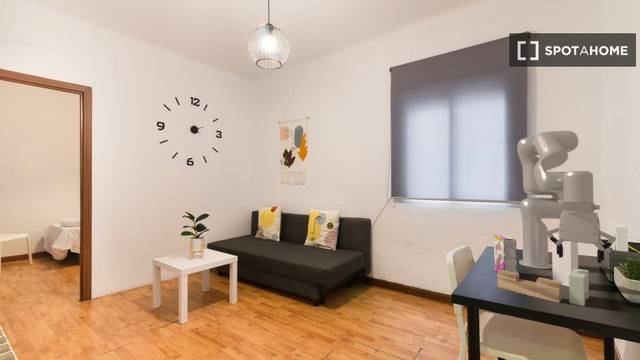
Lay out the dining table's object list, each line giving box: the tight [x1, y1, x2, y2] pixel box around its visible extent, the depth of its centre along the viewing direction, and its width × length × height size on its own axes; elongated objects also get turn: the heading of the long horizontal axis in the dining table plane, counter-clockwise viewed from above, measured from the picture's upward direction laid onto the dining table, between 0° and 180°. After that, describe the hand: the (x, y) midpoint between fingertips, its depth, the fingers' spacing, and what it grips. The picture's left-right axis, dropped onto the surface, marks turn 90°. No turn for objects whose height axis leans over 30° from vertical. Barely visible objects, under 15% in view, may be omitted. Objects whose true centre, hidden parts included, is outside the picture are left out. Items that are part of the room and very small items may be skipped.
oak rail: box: [496, 270, 562, 303], centre depth 103 cm, size 4×18×6 cm, turn 41°
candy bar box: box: [493, 233, 518, 273], centre depth 123 cm, size 11×5×16 cm, turn 168°
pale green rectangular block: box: [568, 268, 590, 307], centre depth 97 cm, size 11×4×9 cm, turn 131°
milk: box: [551, 232, 579, 288], centre depth 112 cm, size 6×6×22 cm
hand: (579, 259), depth 97 cm, fingers open, 9 cm apart
